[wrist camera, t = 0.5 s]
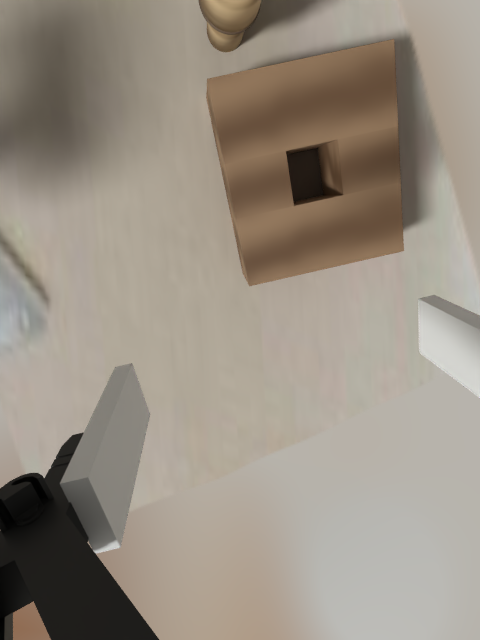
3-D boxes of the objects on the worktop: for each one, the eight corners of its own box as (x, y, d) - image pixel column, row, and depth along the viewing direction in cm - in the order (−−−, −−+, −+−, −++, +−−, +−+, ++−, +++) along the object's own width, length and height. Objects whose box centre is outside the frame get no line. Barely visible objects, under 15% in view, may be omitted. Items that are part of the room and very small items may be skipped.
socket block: (206, 97, 35) (207, 78, 29) (363, 63, 35) (394, 39, 30) (243, 273, 41) (249, 286, 36) (376, 243, 42) (403, 250, 36)
